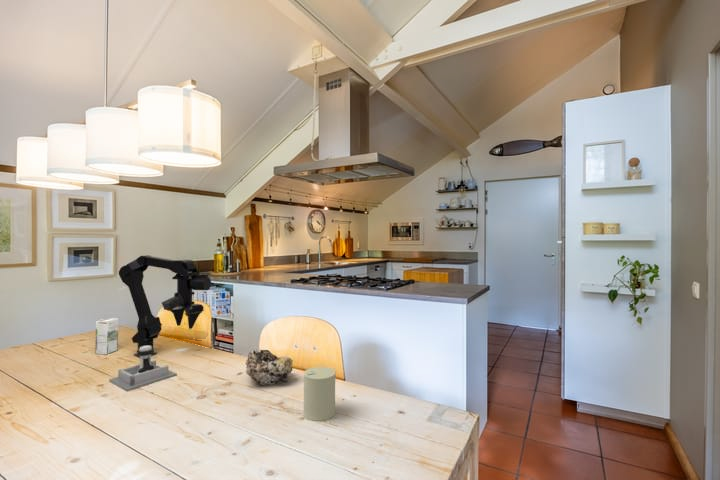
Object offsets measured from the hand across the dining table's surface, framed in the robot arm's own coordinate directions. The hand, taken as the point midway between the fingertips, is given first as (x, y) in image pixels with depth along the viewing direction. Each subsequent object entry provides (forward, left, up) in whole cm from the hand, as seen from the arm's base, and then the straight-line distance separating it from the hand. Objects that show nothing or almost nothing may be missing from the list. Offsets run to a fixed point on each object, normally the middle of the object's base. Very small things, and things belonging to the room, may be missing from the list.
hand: (184, 327), depth 142 cm
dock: (+10, -20, -12) cm, 26 cm away
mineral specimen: (+48, +3, -13) cm, 50 cm away
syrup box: (-33, -16, -13) cm, 39 cm away
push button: (+9, -20, -12) cm, 25 cm away
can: (+77, -3, -13) cm, 78 cm away
